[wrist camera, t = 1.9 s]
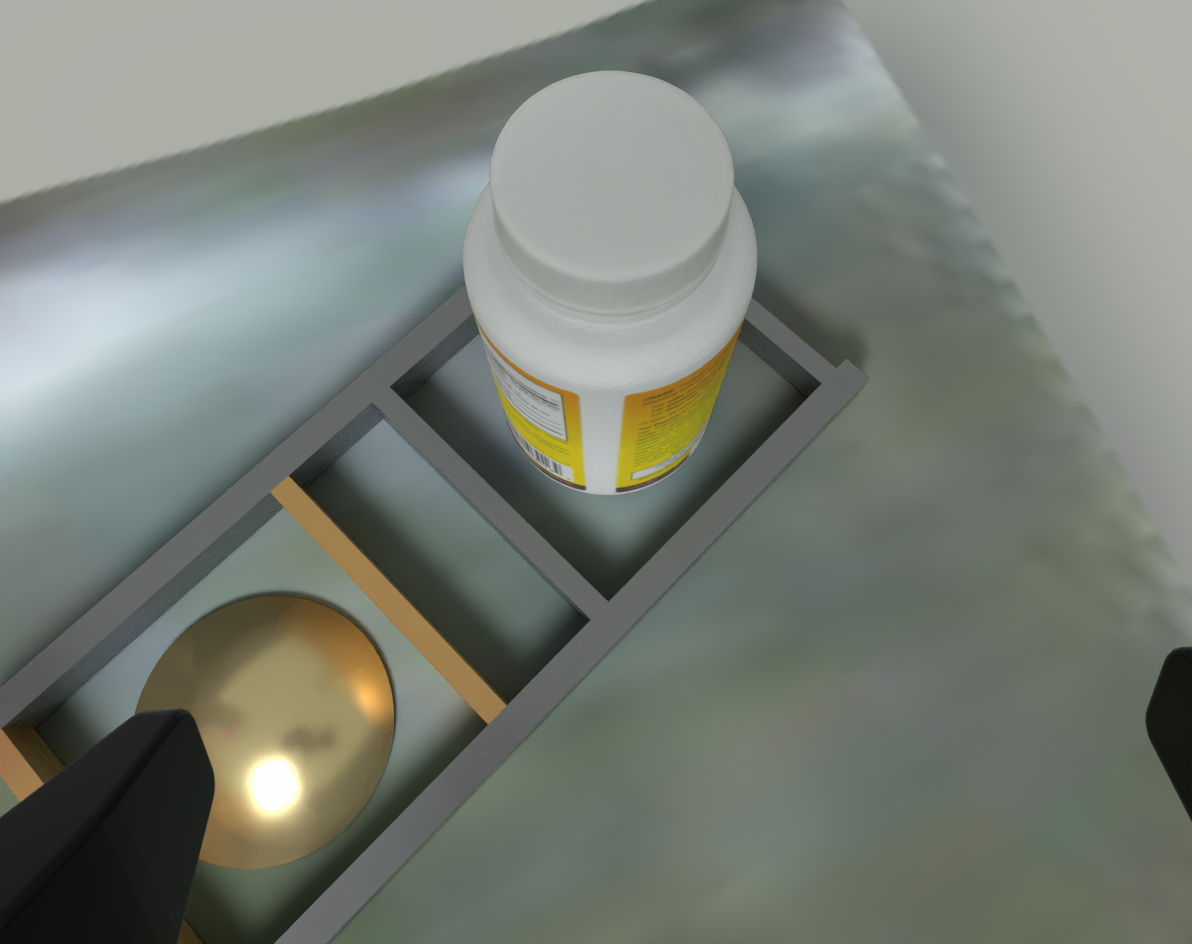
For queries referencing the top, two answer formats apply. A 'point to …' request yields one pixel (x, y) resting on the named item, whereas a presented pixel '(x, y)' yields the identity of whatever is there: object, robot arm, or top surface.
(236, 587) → the top surface
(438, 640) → the rack
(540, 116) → the supplement bottle
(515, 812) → the top surface
